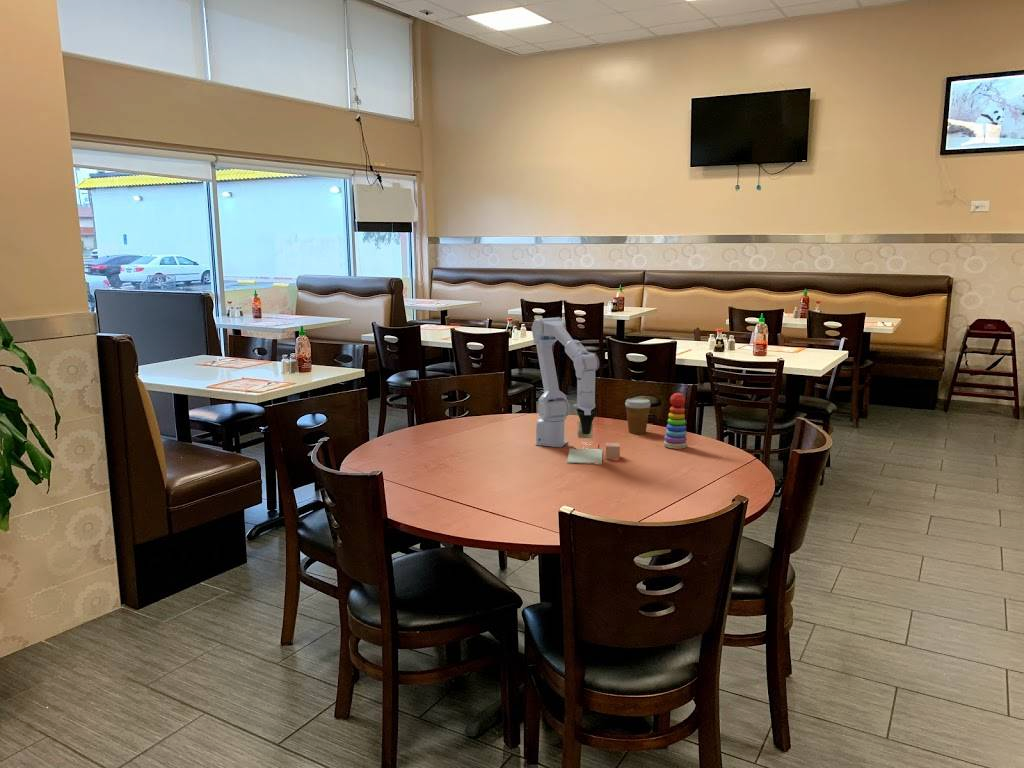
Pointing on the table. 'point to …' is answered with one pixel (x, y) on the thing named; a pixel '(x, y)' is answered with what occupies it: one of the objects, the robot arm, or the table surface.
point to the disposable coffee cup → (637, 414)
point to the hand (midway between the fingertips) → (585, 432)
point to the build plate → (585, 456)
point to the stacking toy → (676, 424)
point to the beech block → (580, 433)
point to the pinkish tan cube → (612, 450)
